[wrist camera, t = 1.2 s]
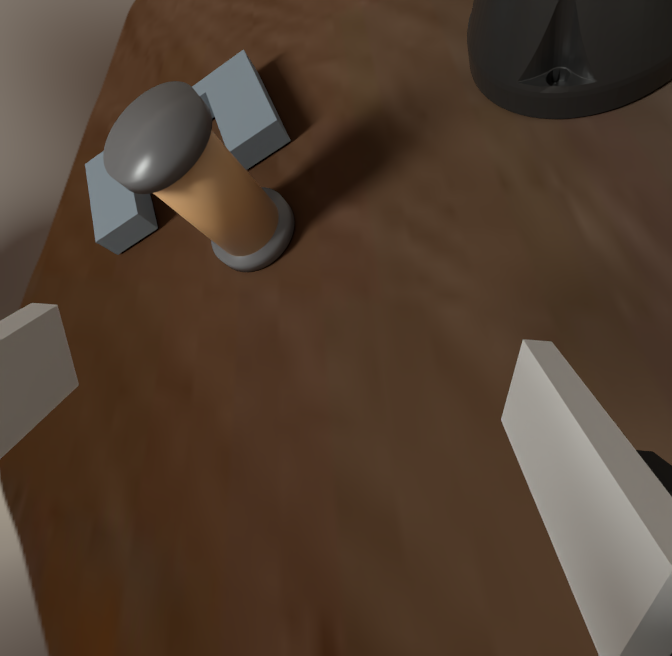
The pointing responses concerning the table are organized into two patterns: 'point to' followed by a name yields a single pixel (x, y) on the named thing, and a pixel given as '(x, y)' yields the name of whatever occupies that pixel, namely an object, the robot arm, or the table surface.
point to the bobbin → (197, 176)
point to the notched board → (238, 134)
